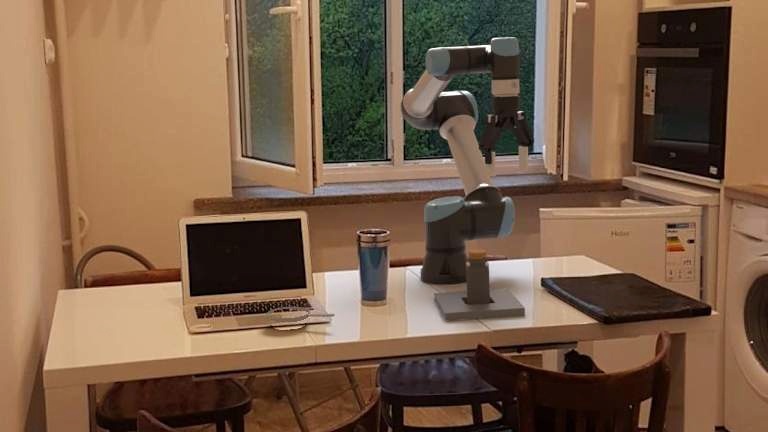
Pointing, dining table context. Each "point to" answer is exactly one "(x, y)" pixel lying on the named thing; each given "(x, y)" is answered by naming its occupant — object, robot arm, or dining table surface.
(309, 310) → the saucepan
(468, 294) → the bottle
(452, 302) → the hole plate
